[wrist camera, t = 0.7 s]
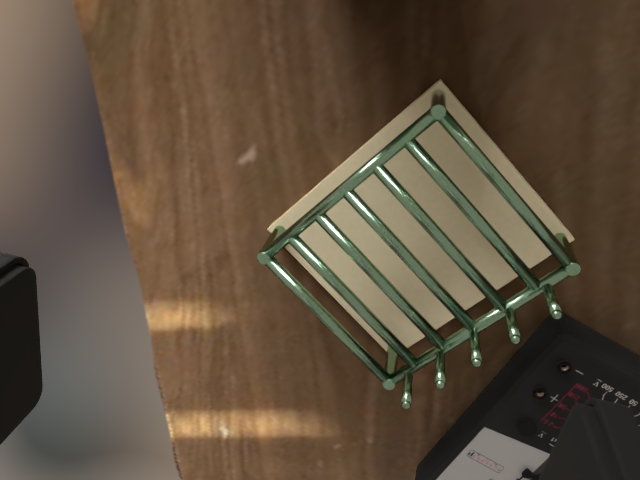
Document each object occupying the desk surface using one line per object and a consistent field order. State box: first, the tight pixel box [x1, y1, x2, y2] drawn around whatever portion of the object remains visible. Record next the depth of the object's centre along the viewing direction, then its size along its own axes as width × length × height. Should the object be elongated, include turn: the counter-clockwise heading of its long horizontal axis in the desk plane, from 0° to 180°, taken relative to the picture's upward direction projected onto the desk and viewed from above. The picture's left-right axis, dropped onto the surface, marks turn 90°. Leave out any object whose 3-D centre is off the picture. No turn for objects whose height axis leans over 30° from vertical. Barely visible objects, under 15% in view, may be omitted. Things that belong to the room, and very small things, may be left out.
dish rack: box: [257, 79, 581, 409], centre depth 38 cm, size 14×16×9 cm
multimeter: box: [415, 313, 640, 480], centre depth 45 cm, size 13×19×5 cm
